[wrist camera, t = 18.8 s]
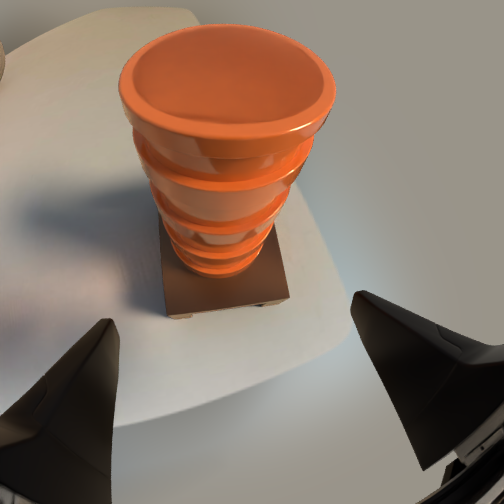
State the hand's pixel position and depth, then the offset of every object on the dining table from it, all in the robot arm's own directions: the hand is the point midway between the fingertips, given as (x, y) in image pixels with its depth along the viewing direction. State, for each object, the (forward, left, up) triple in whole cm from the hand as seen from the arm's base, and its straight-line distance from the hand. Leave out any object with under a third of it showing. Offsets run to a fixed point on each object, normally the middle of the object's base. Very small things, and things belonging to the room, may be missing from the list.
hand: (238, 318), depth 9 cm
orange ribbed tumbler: (+6, 0, -8) cm, 10 cm away
